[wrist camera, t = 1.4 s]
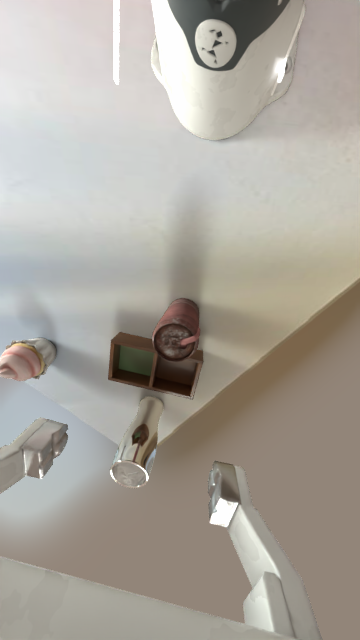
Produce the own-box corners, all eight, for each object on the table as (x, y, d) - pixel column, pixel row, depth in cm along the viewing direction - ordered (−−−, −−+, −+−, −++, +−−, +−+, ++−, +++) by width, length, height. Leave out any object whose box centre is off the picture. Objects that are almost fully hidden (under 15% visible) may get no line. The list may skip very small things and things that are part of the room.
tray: (119, 331, 39) (111, 339, 35) (203, 350, 38) (203, 361, 34) (116, 368, 42) (108, 379, 38) (193, 386, 41) (192, 399, 37)
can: (205, 318, 36) (209, 353, 23) (177, 331, 37) (165, 371, 24) (191, 291, 34) (186, 311, 21) (162, 306, 36) (141, 333, 23)
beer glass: (168, 398, 43) (152, 467, 29) (162, 420, 45) (145, 493, 31) (140, 391, 43) (110, 455, 29) (135, 412, 45) (106, 482, 31)
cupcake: (70, 348, 41) (32, 375, 32) (52, 373, 44) (12, 404, 35) (35, 322, 40) (-16, 341, 31) (19, 349, 43) (-32, 375, 33)
